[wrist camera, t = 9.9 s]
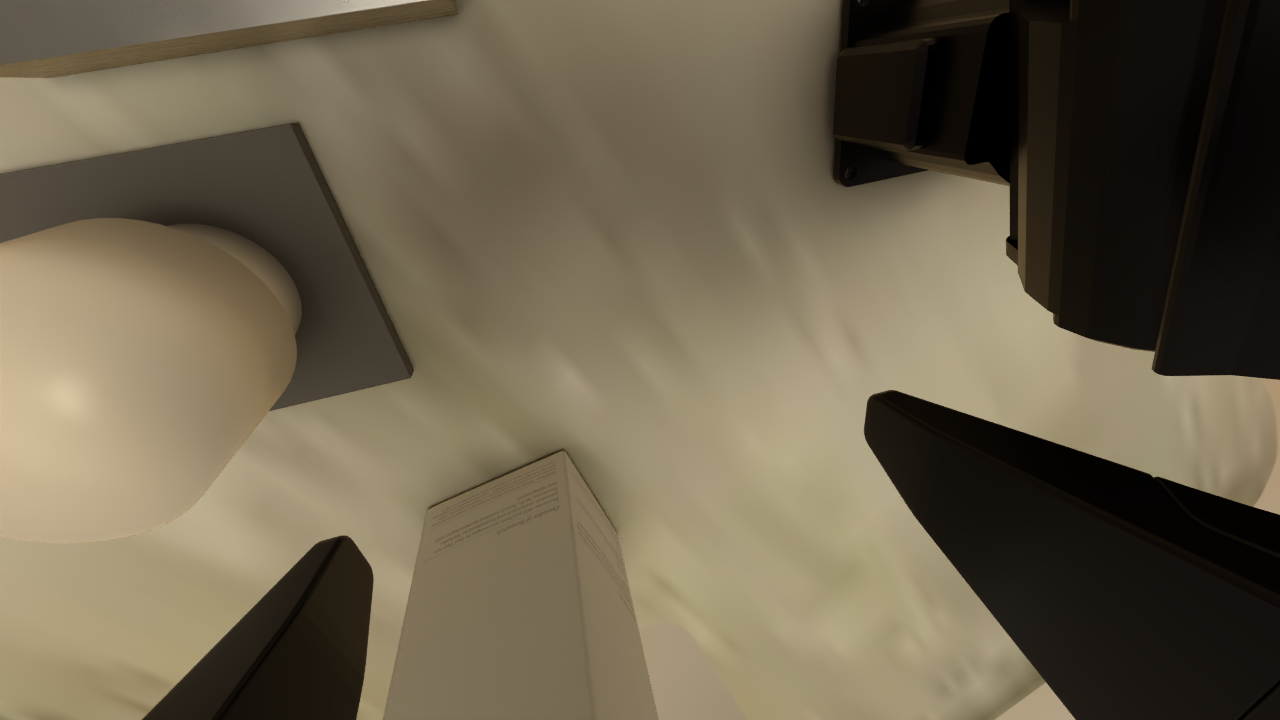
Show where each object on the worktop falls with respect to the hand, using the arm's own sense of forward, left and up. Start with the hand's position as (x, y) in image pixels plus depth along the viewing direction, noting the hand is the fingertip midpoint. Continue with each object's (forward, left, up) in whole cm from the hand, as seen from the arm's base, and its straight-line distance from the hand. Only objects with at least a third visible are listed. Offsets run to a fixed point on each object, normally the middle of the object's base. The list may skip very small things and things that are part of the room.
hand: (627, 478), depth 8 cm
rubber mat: (+11, -1, -12) cm, 17 cm away
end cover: (+11, -1, -12) cm, 16 cm away
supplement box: (+5, +13, -12) cm, 19 cm away
